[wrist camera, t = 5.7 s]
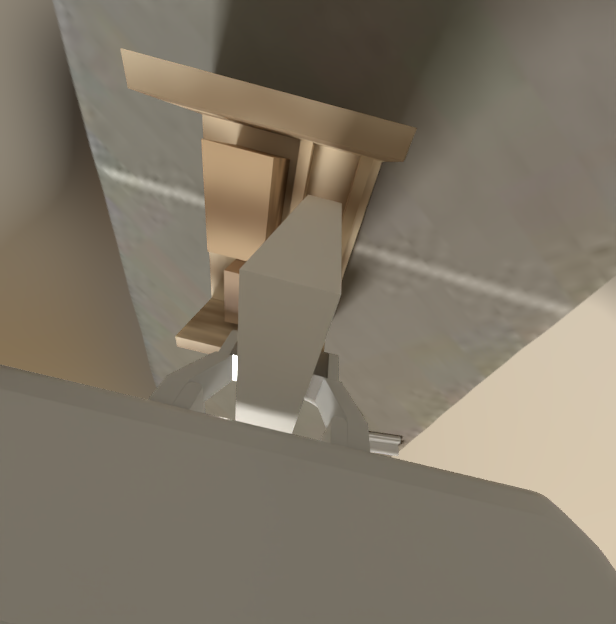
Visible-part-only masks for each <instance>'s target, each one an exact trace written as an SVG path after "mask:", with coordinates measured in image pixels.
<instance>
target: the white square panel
mask: <svg viewBox="0 0 616 624" xmlns="http://www.w3.org/2000/svg"><path fill="white" fill-rule="evenodd" d="M341 248H342V203H339V202H335V201H331V200H327V199H323V198H320V197H316V196H312V195H307V196H306V197H305V198H304V200H303V201H302V202H301V203H300V204H299V205H298V206H297V207H296V208H295V209H294V210H293V211H292V213H291V214H290V215H289V216H288V217H287V218H286V219H285V220H284V221H283V222H282V223H281V225H280V226H279V227H278V228H277V229H276V230H275V231H274V232H273V233H272V234H271V235H270V237H269V238H268V239H267V240H266V241H265V242H264V243H263V244H262V245H261V246H260V247H259V248H258V250H257V251H256V252H255V253H254V254H253V255H252V256H251V257H250V258H249V259H248V260H247V262H246V263H245V264H244V265H243V266H242V267H241V268H240V269H239V306H238V344H237V382H236V420H235V421H240V422H244V423H248V424H252V425H257V426H261V427H265V428H269V429H273V430H278V431H282V432H286V433H290V434H292V431H293V429H294V426H295V423H296V420H297V417H298V415H299V412H300V409H301V406H302V403H303V401H304V398H305V395H306V392H307V389H308V387H309V384H310V381H311V378H312V375H313V373H314V370H315V367H316V364H317V361H318V359H319V356H320V353H321V350H322V347H323V345H324V342H325V339H326V336H327V333H328V331H329V328H330V325H331V322H332V319H333V317H334V314H335V311H336V308H337V305H338V303H339V300H340V297H341Z"/></svg>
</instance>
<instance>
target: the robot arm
mask: <svg viewBox="0 0 616 624" xmlns="http://www.w3.org/2000/svg"><path fill="white" fill-rule="evenodd" d="M237 344H238V331H237V330H232V331H231V333H230V334H229V336H228V337H227V339H226V340H225V342H224V343H223V345H222V347H221V348H220V350H219V351H218V352H217V351H215V352H213V353H211V354H209V355H207V356H205V357H203V358H201V359H199V360H197V361H195V362H193V363H191V364H189V365H187V366H185V367H183V368H181V369H179V370H177V371H175V372H173V373H171V374H169V375H167V376H166V378H165V379H164V380H163V381H162V383H161V384H160V385H159V386H158V388H157V389H156V390H155V391H154V393H153V394H152V395H151V396H150V398H149V399H148V400H147V399H143V398H138V397H134V396H130V395H126V394H121V393H117V392H113V391H109V390H105V389H101V388H96V387H92V386H88V385H84V384H79V383H76V382H71V381H67V380H63V379H59V378H54V377H50V376H46V375H42V374H38V373H34V372H29V371H25V370H21V369H17V368H12V367H8V366H4V365H0V624H616V571H615V569H614V568H613V567H612V565H611V564H610V562H609V561H608V559H607V558H606V556H605V555H604V554H603V553H602V551H601V550H600V549H599V547H598V546H597V545H596V544H595V543H594V542H593V541H592V540H591V539H590V538H589V537H588V536H587V535H586V534H585V533H584V532H583V531H582V530H581V529H580V528H579V527H578V526H577V525H576V524H575V523H574V522H573V521H572V520H571V519H570V518H569V517H568V516H567V515H566V514H565V513H564V512H562V510H560V509H559V508H558V507H557V506H556V505H555V504H554V503H553V502H551V501H550V500H549V499H548V498H547V497H545V496H544V495H542V494H540V493H537V492H534V491H530V490H526V489H522V488H518V487H514V486H510V485H505V484H501V483H497V482H492V481H488V480H484V479H480V478H475V477H472V476H467V475H463V474H459V473H454V472H450V471H446V470H442V469H437V468H434V467H429V466H425V465H421V464H417V463H413V462H408V461H404V460H400V459H395V458H391V457H387V456H383V455H379V454H375V453H370V442H369V432H368V423H367V422H366V420H365V418H364V417H363V415H362V414H361V412H360V411H359V409H358V407H357V406H356V404H355V403H354V401H353V399H352V398H351V396H350V395H349V393H348V392H347V390H346V388H345V387H344V385H343V384H342V382H340V381H339V356H338V355H335V354H331V353H327V352H322V351H321V353H320V356H319V359H318V361H317V364H316V367H315V370H314V373H313V375H312V378H311V381H310V384H309V387H308V389H307V392H306V395H305V397H307V398H311V399H315V401H316V404H317V406H318V409H319V411H320V414H321V416H322V419H323V421H324V424H325V426H326V430H325V432H324V433H323V435H322V437H321V439H320V440H316V439H311V438H307V437H303V436H299V435H295V434H290V433H286V432H282V431H278V430H273V429H269V428H265V427H261V426H257V425H252V424H248V423H244V422H240V421H235V420H231V419H227V418H223V417H218V416H214V415H210V414H206V412H205V404H204V402H205V401H206V400H207V399H209V398H210V397H211V396H213V395H214V394H215V393H217V392H218V391H219V390H221V389H222V388H223V387H225V386H226V385H227V384H228V383H230V382H231V381H232V380H236V381H237Z"/></svg>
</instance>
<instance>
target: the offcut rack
mask: <svg viewBox="0 0 616 624" xmlns="http://www.w3.org/2000/svg"><path fill="white" fill-rule="evenodd" d="M120 49H121V54H122V59H123V64H124V70H125V75H126V80H127V85H128V88H129V89H132V90H135V91H138V92H141V93H144V94H146V95H149V96H152V97H155V98H158V99H161V100H164V101H166V102H169V103H172V104H175V105H178V106H181V107H184V108H186V109H189V110H192V111H195V112H198V113H201V114H202V118H203V137H204V139H206V140H212V141H218V142H224V143H229V144H235V145H239V146H243V147H247V148H251V149H255V150H258V151H262V152H266V153H270V154H274V155H277V156H281V157H285V158H289V159H290V164H289V171H288V178H287V186H286V193H285V200H284V208H283V215H282V222H283V221H284V220H285V219H286V218H287V217H288V216H289V215H290V214H291V213H292V211H293V210H294V209H295V208H296V207H297V206H298V205H299V204H300V203H301V202H302V201H303V200H304V198H305V197H306V196H307V195H312V196H316V197H320V198H323V199H327V200H331V201H335V202H339V203H342V248H341V281H342V278H343V275H344V272H345V269H346V266H347V263H348V260H349V257H350V255H351V252H352V249H353V246H354V243H355V240H356V237H357V234H358V231H359V228H360V225H361V222H362V219H363V216H364V213H365V210H366V208H367V205H368V202H369V199H370V196H371V193H372V190H373V187H374V184H375V181H376V178H377V175H378V172H379V169H380V166H381V163H382V162H403V161H404V160H405V157H406V155H407V152H408V150H409V147H410V144H411V142H412V139H413V137H414V134H415V131H416V129H417V128H415V127H411V126H407V125H403V124H400V123H396V122H392V121H389V120H385V119H381V118H377V117H374V116H370V115H366V114H363V113H359V112H355V111H352V110H348V109H344V108H340V107H337V106H333V105H329V104H326V103H322V102H318V101H315V100H311V99H307V98H303V97H300V96H296V95H292V94H289V93H285V92H281V91H277V90H274V89H270V88H266V87H263V86H259V85H255V84H252V83H248V82H244V81H240V80H237V79H233V78H229V77H226V76H222V75H218V74H214V73H211V72H207V71H203V70H200V69H196V68H192V67H189V66H185V65H181V64H177V63H174V62H170V61H166V60H163V59H159V58H155V57H151V56H148V55H144V54H140V53H137V52H133V51H129V50H126V49H122V48H120ZM282 222H281V223H282ZM209 253H210V273H211V292H212V298H211V299H210V300H209V301H208V302H207V303H206V305H205V306H204V307H203V308H202V309H201V310H200V311H199V312H198V313H197V314H196V315H195V316H194V317H193V318H192V319H191V320H190V321H189V322H188V323H187V325H186V326H185V327H184V328H183V329H182V330H181V331H180V332H179V333H178V334H177V335H176V336H175V338H176V343H177V346H178V347H182V348H186V349H190V350H194V351H199V352H203V353H207V354H211V353H213V352H215V351H217V352H218V351H219V350H220V348H221V347H222V345H223V343H224V342H225V340H226V339H227V337H228V336H229V334H230V333H231V331H232V330H237V331H238V324H234V323H230V322H226V321H225V314H224V270H225V269H226V268H227V267H228V266H229V265H230V264H231V263H232V262H233V261H234V260H235V259H236V258H232V257H228V256H224V255H220V254H216V253H212V252H209ZM324 345H325V342H324ZM324 345H323V347H322V350H321V351H322V352H324Z"/></svg>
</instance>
